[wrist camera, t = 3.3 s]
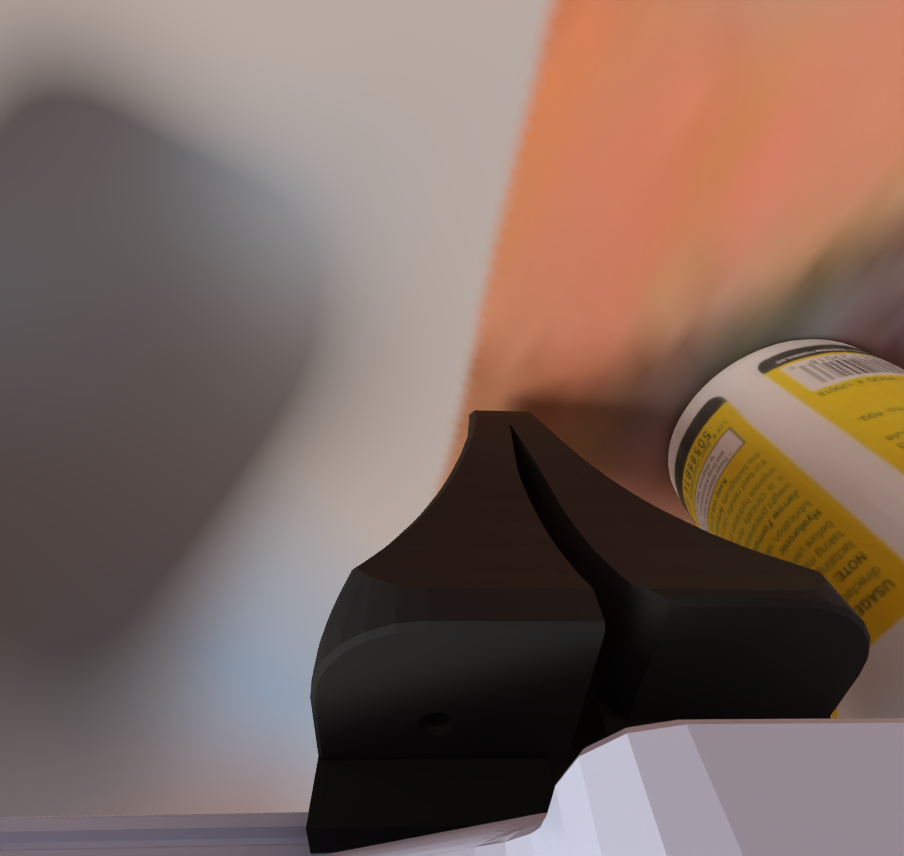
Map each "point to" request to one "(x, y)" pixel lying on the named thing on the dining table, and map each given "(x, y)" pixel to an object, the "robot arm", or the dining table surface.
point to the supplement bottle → (810, 483)
